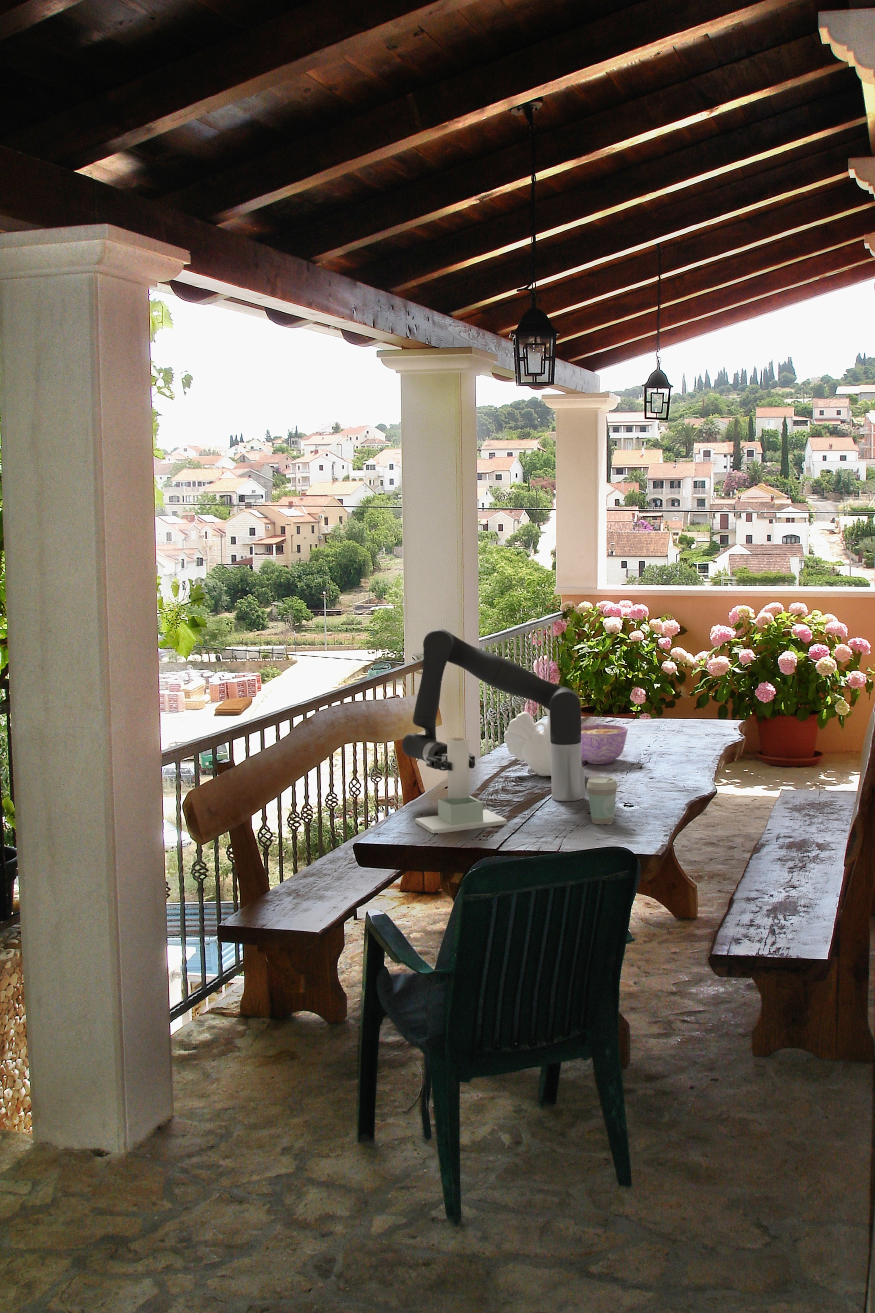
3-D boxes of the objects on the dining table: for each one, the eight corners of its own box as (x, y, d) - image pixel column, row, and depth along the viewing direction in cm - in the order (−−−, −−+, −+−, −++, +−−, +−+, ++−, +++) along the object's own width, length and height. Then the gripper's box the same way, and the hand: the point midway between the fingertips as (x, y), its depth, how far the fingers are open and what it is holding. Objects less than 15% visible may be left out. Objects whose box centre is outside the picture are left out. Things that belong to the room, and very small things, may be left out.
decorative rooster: (587, 772, 374) (586, 698, 372) (568, 781, 361) (566, 705, 358) (520, 766, 387) (518, 695, 384) (499, 775, 373) (497, 702, 371)
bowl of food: (626, 755, 400) (625, 723, 398) (630, 767, 380) (629, 733, 379) (570, 756, 402) (569, 724, 400) (571, 767, 382) (570, 734, 381)
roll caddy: (486, 813, 323) (485, 791, 322) (507, 824, 310) (506, 801, 309) (415, 822, 315) (414, 800, 314) (433, 834, 302) (432, 810, 301)
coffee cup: (602, 828, 302) (601, 784, 301) (580, 822, 309) (579, 779, 308) (624, 822, 307) (624, 779, 306) (602, 817, 314) (602, 775, 313)
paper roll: (464, 792, 315) (463, 736, 314) (473, 797, 310) (472, 740, 308) (444, 794, 313) (443, 738, 311) (453, 799, 308) (452, 741, 306)
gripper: (415, 744, 321) (437, 755, 305) (462, 740, 326) (485, 750, 310) (416, 770, 321) (438, 781, 306) (462, 765, 327) (485, 776, 311)
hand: (461, 765), depth 308 cm, fingers closed on paper roll, 6 cm apart
